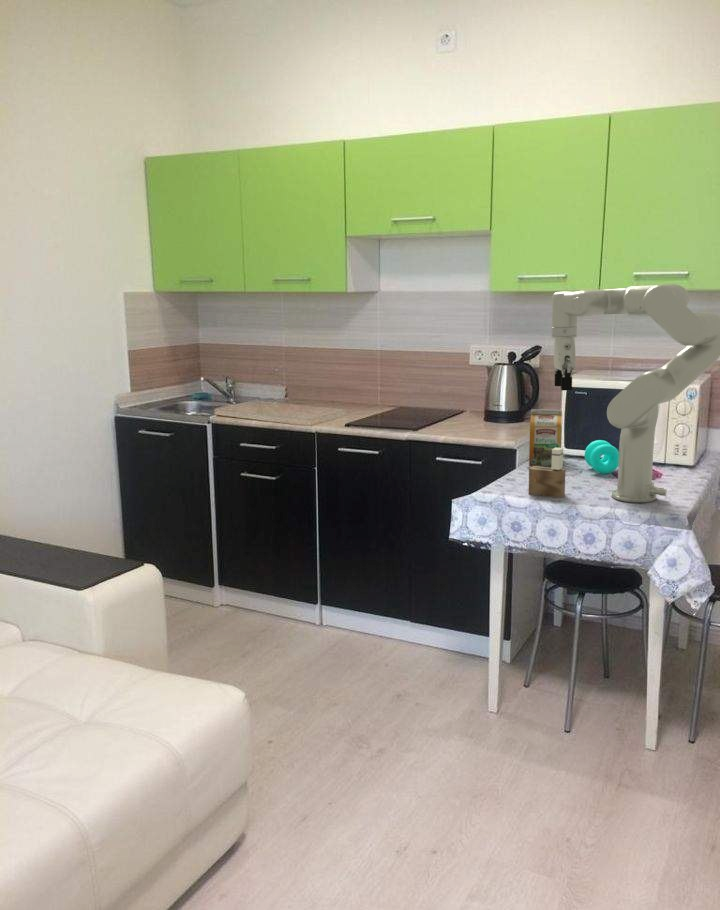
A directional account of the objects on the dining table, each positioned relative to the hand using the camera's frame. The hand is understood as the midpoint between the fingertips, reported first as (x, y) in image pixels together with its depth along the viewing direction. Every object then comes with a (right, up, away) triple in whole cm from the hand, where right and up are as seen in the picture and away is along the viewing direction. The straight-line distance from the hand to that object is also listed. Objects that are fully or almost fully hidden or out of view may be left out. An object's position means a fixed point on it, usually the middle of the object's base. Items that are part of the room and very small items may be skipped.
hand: (563, 388), depth 248 cm
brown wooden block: (-6, -33, -5) cm, 34 cm away
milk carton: (+3, -24, +35) cm, 43 cm away
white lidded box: (-4, -25, -8) cm, 27 cm away
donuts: (+19, -27, +21) cm, 39 cm away
